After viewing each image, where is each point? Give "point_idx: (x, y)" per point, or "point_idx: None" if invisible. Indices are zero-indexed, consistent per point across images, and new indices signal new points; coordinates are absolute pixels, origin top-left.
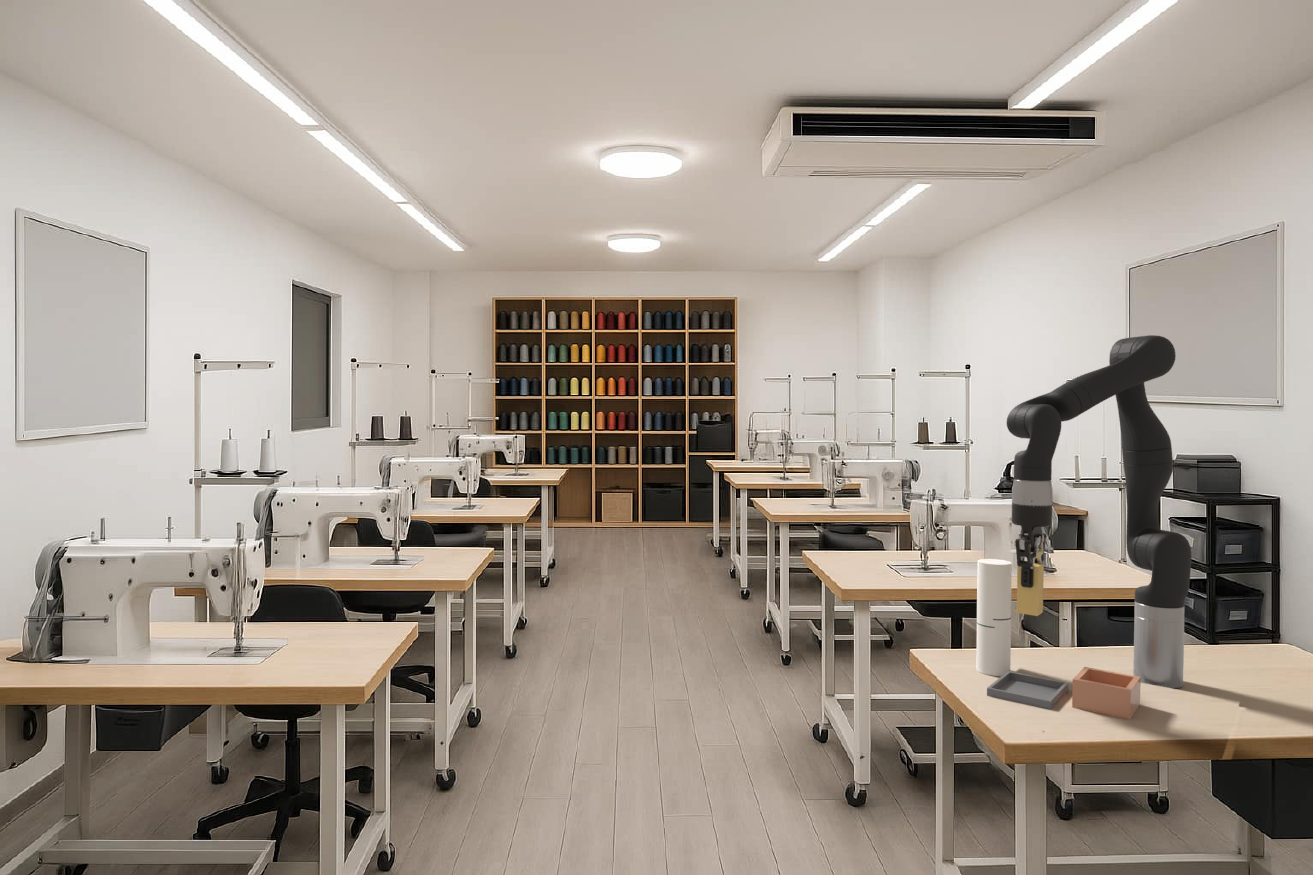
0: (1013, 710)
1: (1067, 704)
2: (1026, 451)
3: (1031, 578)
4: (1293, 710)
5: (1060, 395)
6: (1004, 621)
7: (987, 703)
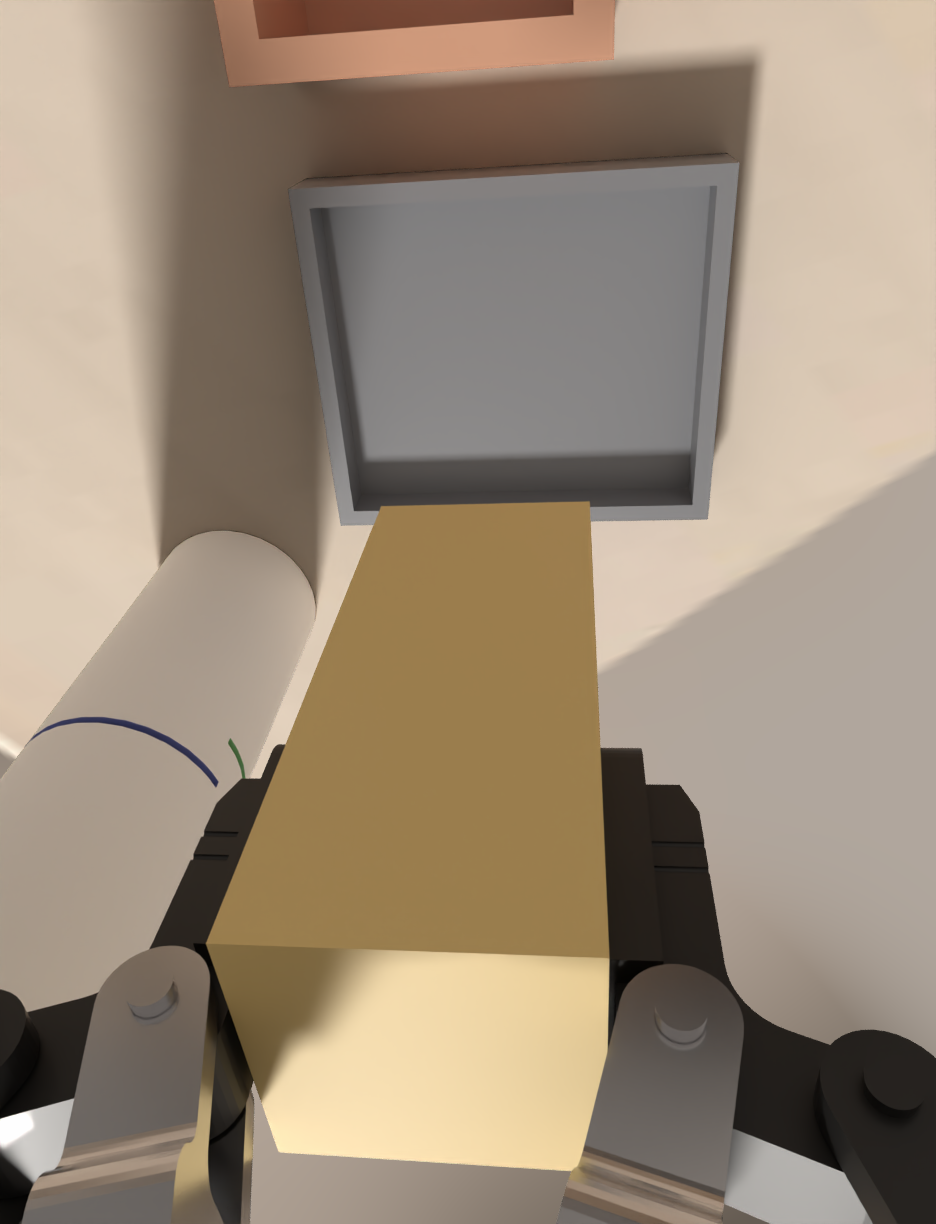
0: (781, 338)
1: (483, 124)
2: None
3: (648, 848)
4: None
5: None
6: (164, 726)
7: (748, 472)
